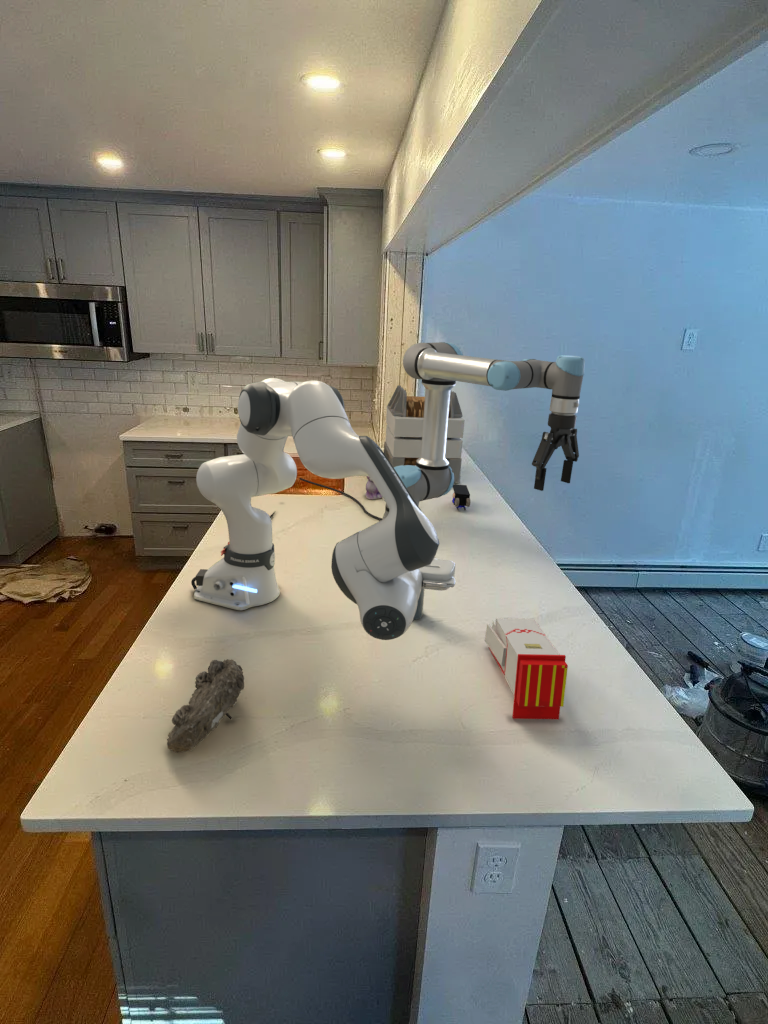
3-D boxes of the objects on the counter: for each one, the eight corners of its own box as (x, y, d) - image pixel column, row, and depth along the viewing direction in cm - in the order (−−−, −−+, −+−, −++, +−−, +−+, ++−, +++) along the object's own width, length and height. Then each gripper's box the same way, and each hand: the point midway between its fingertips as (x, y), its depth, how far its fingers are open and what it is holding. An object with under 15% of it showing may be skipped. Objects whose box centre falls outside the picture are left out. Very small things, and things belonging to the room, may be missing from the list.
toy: (531, 603, 136) (576, 661, 106) (526, 655, 139) (569, 725, 109) (481, 602, 135) (512, 660, 106) (477, 654, 138) (507, 724, 109)
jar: (410, 621, 144) (414, 567, 139) (399, 612, 148) (402, 559, 143) (426, 616, 147) (430, 563, 142) (415, 608, 151) (418, 555, 146)
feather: (282, 505, 226) (285, 501, 225) (264, 529, 199) (267, 524, 198) (279, 503, 225) (281, 499, 225) (260, 526, 199) (263, 522, 198)
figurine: (370, 501, 232) (371, 465, 226) (359, 493, 240) (360, 459, 235) (390, 498, 236) (392, 463, 231) (379, 491, 244) (380, 457, 239)
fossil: (192, 660, 117) (244, 628, 112) (224, 691, 120) (276, 661, 115) (142, 746, 98) (202, 712, 93) (182, 779, 101) (242, 748, 96)
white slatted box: (382, 463, 289) (386, 382, 275) (445, 464, 293) (451, 384, 279) (390, 482, 257) (394, 392, 243) (460, 483, 261) (468, 394, 247)
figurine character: (470, 515, 225) (465, 499, 238) (472, 498, 221) (467, 483, 235) (453, 515, 224) (449, 499, 238) (455, 497, 221) (451, 482, 234)
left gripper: (455, 572, 102) (459, 545, 115) (345, 561, 105) (360, 535, 118) (453, 604, 104) (456, 573, 117) (344, 591, 107) (360, 563, 120)
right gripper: (548, 419, 148) (537, 496, 155) (598, 411, 163) (586, 482, 171) (525, 414, 153) (515, 489, 160) (575, 407, 169) (564, 476, 176)
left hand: (407, 554), depth 118 cm, fingers open, 8 cm apart
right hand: (552, 485), depth 166 cm, fingers open, 13 cm apart
